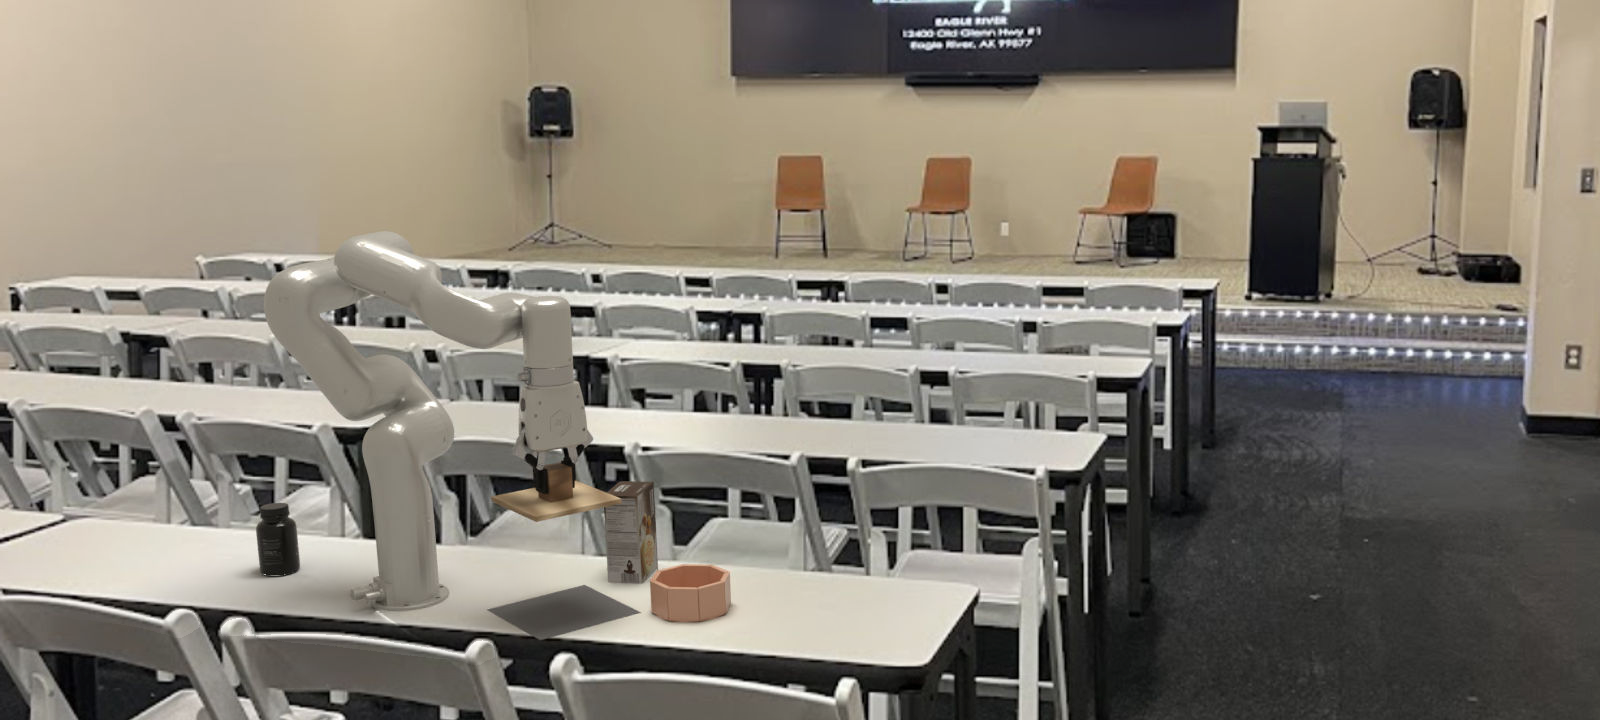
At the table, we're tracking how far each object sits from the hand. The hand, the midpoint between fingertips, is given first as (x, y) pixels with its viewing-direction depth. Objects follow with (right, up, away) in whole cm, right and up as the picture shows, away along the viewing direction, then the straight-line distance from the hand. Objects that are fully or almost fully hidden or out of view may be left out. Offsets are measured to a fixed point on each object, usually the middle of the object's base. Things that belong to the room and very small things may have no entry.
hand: (555, 488), depth 242 cm
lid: (0, -2, 0) cm, 2 cm away
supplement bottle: (-54, -17, +30) cm, 64 cm away
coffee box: (+10, -17, +21) cm, 29 cm away
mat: (+1, -21, +4) cm, 21 cm away
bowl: (+21, -20, +3) cm, 30 cm away
